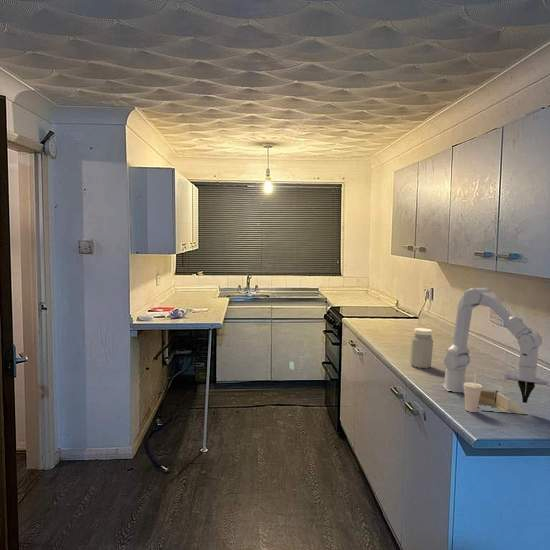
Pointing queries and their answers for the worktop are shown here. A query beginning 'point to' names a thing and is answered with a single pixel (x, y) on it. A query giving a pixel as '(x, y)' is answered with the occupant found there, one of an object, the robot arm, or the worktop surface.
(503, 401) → the fence panel
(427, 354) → the jar
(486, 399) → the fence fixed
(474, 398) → the smoothie
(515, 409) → the mat
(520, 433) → the worktop surface
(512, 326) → the robot arm
